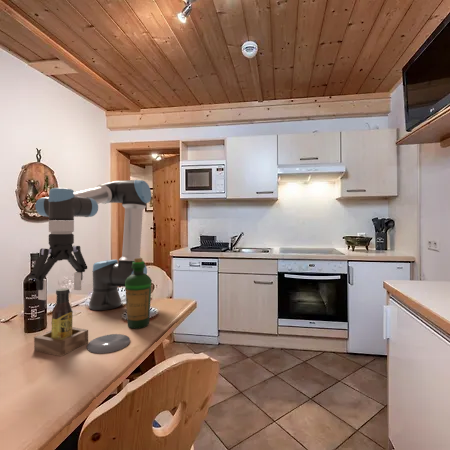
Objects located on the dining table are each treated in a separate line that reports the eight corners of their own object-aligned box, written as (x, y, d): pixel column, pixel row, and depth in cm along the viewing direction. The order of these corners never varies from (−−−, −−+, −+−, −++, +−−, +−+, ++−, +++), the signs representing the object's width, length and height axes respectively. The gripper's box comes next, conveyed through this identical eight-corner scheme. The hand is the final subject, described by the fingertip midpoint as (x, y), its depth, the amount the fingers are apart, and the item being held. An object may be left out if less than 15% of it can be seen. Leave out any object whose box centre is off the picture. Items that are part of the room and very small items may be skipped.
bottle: (119, 328, 112) (119, 259, 111) (135, 319, 122) (135, 256, 121) (142, 331, 109) (142, 261, 108) (156, 322, 119) (156, 257, 118)
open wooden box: (63, 337, 103) (63, 325, 103) (88, 342, 99) (88, 329, 99) (34, 350, 93) (34, 337, 93) (60, 356, 89) (60, 342, 89)
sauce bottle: (62, 351, 92) (62, 292, 92) (46, 349, 93) (46, 291, 93) (76, 343, 99) (76, 287, 98) (61, 341, 100) (61, 286, 99)
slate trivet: (107, 333, 107) (107, 331, 107) (137, 338, 102) (137, 337, 102) (77, 349, 94) (77, 347, 94) (110, 356, 89) (110, 354, 89)
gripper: (82, 231, 108) (82, 285, 108) (16, 234, 85) (16, 303, 85) (97, 232, 106) (97, 287, 106) (33, 234, 82) (33, 305, 82)
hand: (61, 294), depth 95 cm, fingers open, 13 cm apart
